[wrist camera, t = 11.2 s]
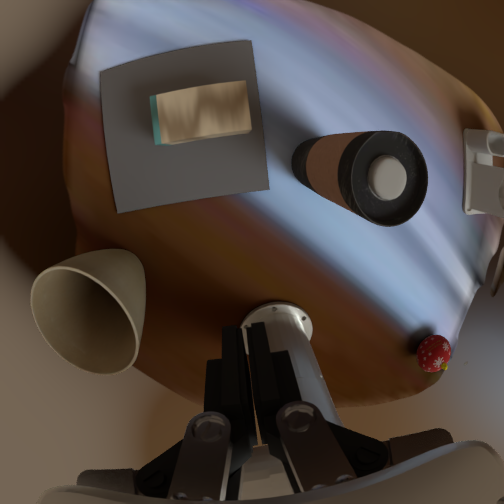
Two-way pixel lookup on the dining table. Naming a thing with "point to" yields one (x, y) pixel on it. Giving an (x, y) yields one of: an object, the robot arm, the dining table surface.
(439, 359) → the christmas ornament
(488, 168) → the phone holder
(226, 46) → the rubber mat
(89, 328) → the plant pot
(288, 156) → the dining table surface
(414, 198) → the travel mug
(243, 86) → the maple block
